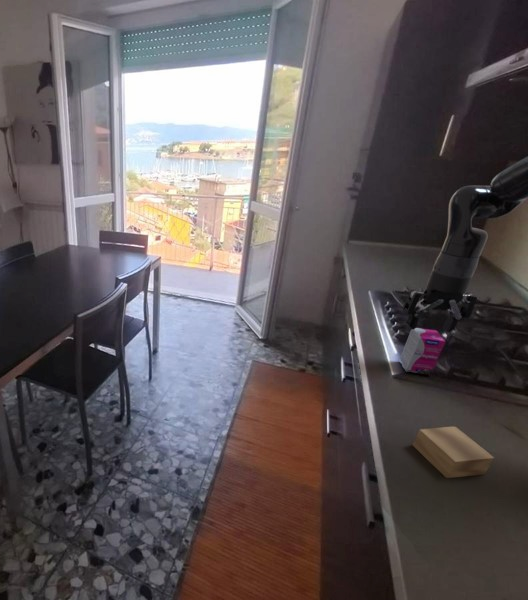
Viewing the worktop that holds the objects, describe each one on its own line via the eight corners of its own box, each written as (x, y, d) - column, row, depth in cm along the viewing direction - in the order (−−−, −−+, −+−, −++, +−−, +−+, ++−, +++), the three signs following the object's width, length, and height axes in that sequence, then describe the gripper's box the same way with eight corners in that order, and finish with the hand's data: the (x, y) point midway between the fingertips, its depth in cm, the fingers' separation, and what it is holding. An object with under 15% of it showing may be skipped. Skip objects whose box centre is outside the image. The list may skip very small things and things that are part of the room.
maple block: (447, 441, 75) (455, 426, 73) (484, 474, 68) (494, 457, 66) (412, 445, 75) (419, 429, 73) (446, 478, 68) (455, 461, 66)
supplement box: (405, 373, 97) (419, 337, 92) (398, 361, 102) (411, 326, 97) (430, 377, 95) (446, 340, 90) (422, 364, 100) (436, 329, 95)
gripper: (429, 275, 84) (406, 334, 91) (497, 278, 82) (469, 338, 89) (411, 264, 90) (391, 320, 97) (474, 267, 88) (449, 324, 95)
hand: (428, 329), depth 93 cm, fingers open, 8 cm apart
